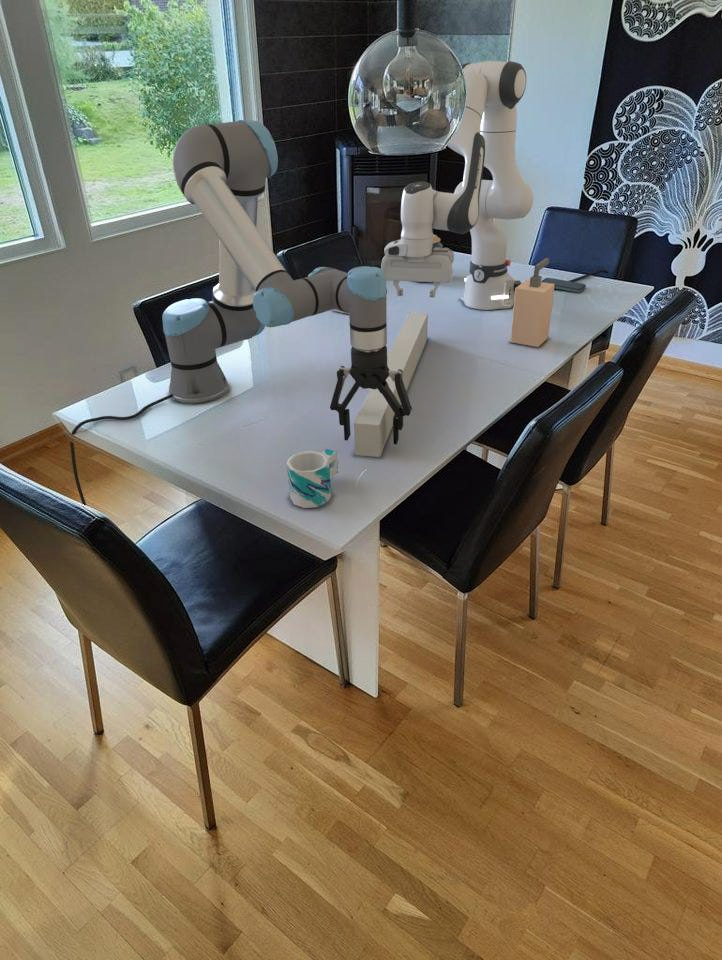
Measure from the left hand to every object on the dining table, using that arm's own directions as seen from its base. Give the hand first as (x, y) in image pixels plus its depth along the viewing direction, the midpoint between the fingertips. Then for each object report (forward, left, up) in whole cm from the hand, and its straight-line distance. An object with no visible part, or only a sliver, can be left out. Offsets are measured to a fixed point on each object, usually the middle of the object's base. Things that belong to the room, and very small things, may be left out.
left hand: (371, 439), depth 150 cm
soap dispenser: (+79, -2, -2) cm, 79 cm away
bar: (+28, +13, -2) cm, 31 cm away
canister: (+115, +59, -2) cm, 129 cm away
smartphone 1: (+74, +62, -2) cm, 96 cm away
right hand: (+56, +25, +13) cm, 63 cm away
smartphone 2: (+130, +10, -2) cm, 130 cm away
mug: (-21, -2, -2) cm, 21 cm away
